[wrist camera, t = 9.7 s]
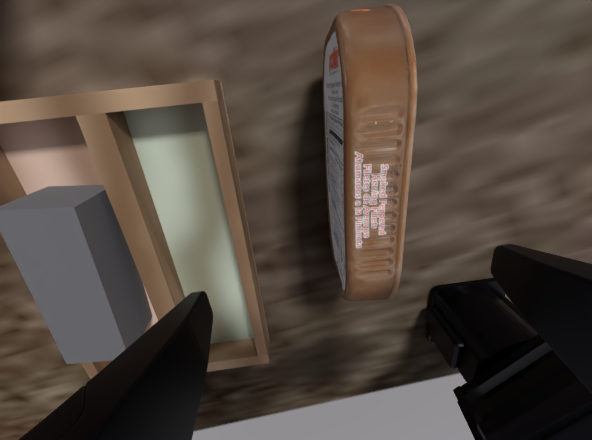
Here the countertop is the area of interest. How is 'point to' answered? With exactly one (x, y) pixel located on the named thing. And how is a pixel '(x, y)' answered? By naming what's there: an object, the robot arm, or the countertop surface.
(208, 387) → the countertop surface
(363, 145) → the tin
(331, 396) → the countertop surface
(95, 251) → the bar
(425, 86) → the countertop surface
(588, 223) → the countertop surface
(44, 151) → the divided wooden tray
